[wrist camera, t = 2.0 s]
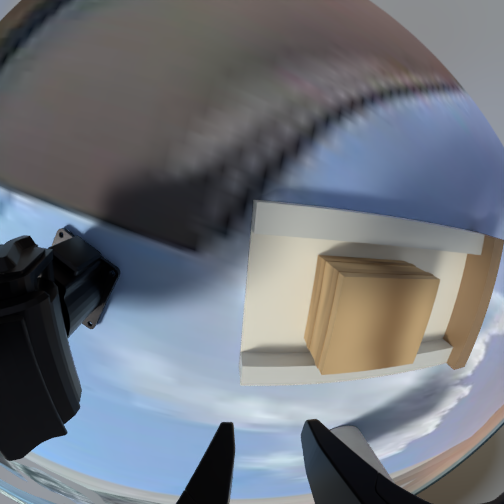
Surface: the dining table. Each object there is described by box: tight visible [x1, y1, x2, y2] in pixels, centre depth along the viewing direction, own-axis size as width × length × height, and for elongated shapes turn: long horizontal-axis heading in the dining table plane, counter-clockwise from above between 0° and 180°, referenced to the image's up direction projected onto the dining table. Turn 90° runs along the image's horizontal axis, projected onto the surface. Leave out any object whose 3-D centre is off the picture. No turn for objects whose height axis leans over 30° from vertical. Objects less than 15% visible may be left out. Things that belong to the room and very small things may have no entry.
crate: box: [304, 255, 440, 375], centre depth 19 cm, size 8×7×5 cm
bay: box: [239, 200, 504, 386], centre depth 20 cm, size 24×14×4 cm, turn 85°
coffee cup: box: [330, 426, 394, 483], centre depth 19 cm, size 10×10×15 cm
